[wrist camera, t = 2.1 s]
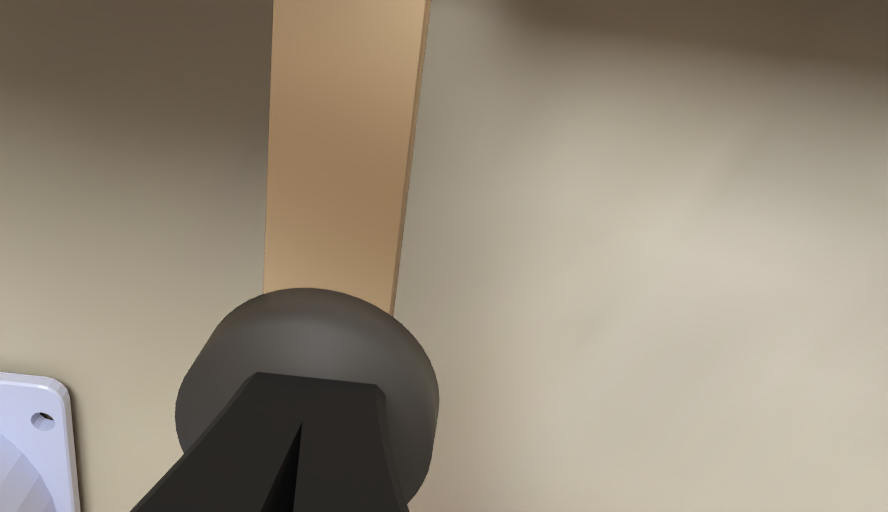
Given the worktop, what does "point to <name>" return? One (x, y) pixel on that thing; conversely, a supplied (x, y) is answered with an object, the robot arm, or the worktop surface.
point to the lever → (333, 224)
